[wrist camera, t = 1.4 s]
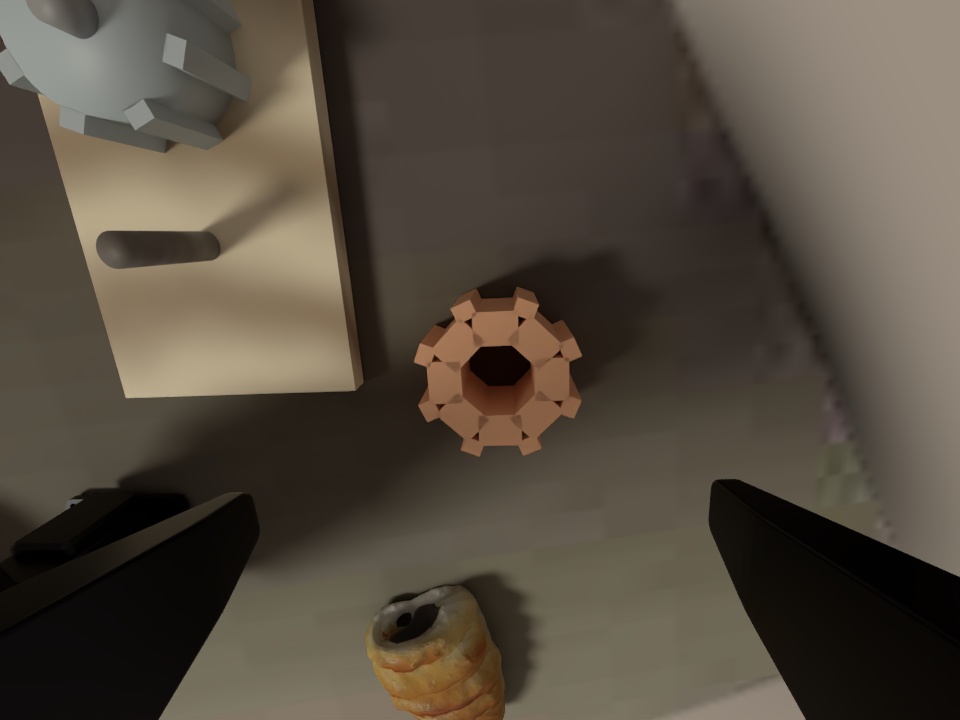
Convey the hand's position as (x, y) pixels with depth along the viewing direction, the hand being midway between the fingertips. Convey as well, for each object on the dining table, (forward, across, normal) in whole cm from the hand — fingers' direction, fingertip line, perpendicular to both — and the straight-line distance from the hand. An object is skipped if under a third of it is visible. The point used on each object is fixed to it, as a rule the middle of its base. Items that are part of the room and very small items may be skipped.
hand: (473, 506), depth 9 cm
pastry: (+12, +4, +17) cm, 22 cm away
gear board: (+12, +12, -9) cm, 19 cm away
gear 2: (+12, 0, 0) cm, 12 cm away
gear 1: (+11, +12, -12) cm, 20 cm away
